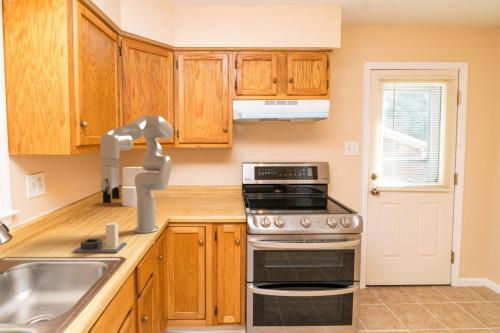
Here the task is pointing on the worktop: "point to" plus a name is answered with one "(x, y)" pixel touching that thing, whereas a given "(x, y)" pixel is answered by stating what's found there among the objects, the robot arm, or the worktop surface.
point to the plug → (112, 235)
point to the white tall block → (130, 185)
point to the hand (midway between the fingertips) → (111, 200)
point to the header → (98, 247)
